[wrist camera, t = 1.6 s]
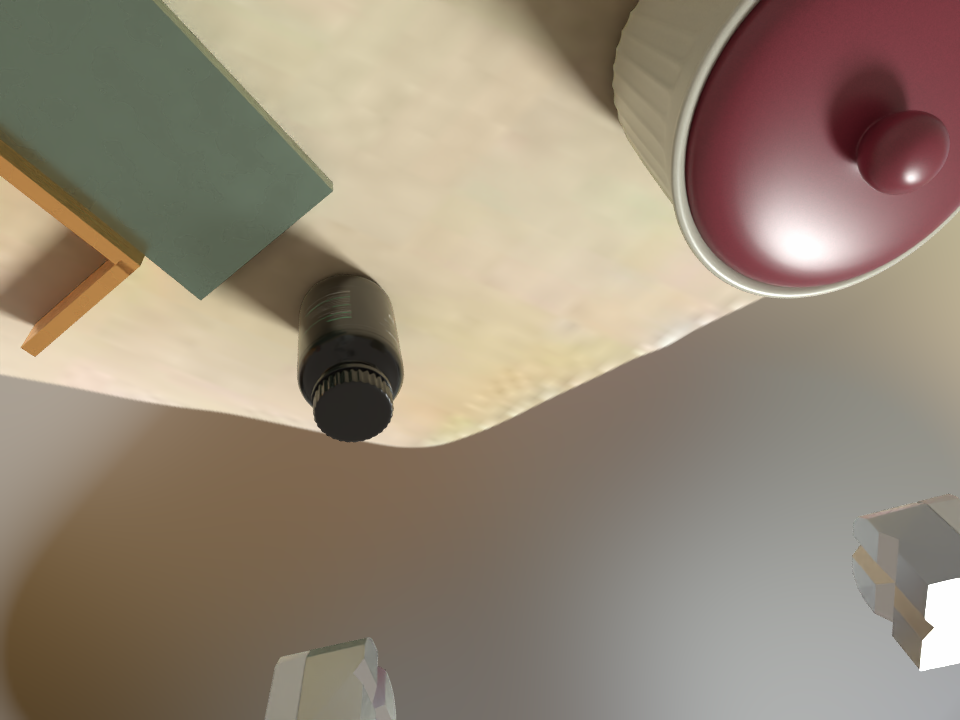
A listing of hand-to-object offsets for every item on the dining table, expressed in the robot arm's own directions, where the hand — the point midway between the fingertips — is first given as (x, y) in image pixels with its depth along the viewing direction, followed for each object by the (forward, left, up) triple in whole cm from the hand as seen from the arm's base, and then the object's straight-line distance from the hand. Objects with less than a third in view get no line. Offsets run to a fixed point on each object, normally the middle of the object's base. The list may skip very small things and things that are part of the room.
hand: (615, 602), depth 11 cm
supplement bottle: (+11, -14, -39) cm, 43 cm away
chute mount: (-7, -19, -39) cm, 44 cm away
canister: (+12, +16, -39) cm, 44 cm away
